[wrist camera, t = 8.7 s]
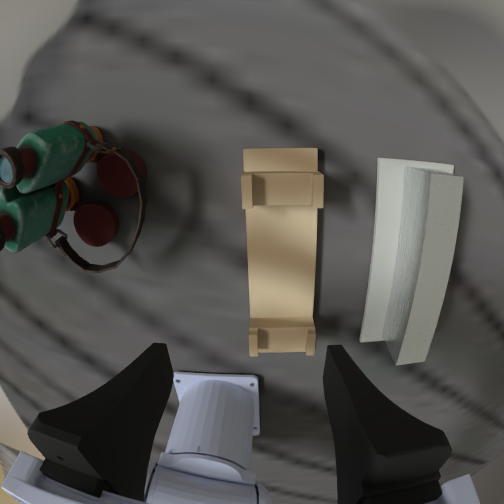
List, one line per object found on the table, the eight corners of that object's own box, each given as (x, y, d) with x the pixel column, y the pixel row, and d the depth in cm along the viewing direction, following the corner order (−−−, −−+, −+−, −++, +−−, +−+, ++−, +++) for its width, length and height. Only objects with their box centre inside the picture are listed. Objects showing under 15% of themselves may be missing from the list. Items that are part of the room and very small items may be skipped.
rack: (309, 347, 25) (312, 369, 22) (252, 347, 25) (250, 370, 23) (316, 148, 19) (323, 149, 17) (244, 148, 20) (240, 150, 17)
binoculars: (74, 344, 14) (-43, 248, 12) (129, 261, 24) (40, 198, 21) (138, 213, 12) (-12, 107, 9) (185, 170, 21) (83, 103, 19)
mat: (422, 333, 24) (424, 335, 24) (359, 339, 25) (360, 342, 24) (451, 164, 19) (453, 165, 19) (377, 157, 19) (379, 158, 19)
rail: (408, 333, 24) (424, 361, 20) (381, 335, 24) (395, 365, 20) (434, 169, 19) (463, 176, 15) (404, 166, 19) (430, 173, 15)
